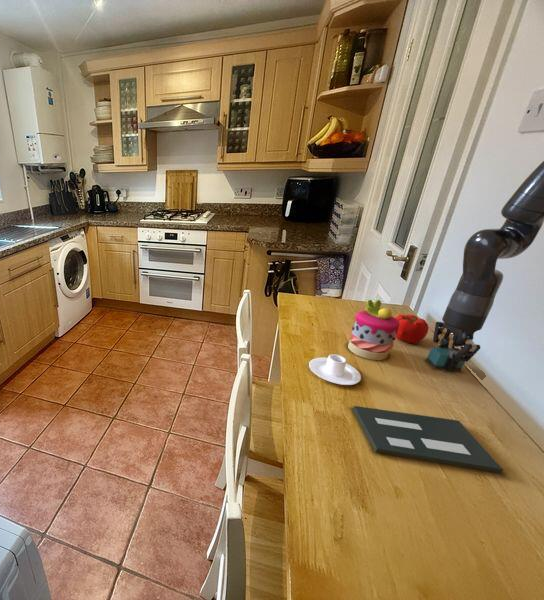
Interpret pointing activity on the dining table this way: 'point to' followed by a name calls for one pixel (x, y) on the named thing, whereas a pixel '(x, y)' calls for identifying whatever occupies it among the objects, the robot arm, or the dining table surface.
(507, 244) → the robot arm
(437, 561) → the dining table surface
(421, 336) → the tomato
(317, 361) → the candle holder
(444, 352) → the eraser
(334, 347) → the dining table surface
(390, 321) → the cake
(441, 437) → the chalkboard
